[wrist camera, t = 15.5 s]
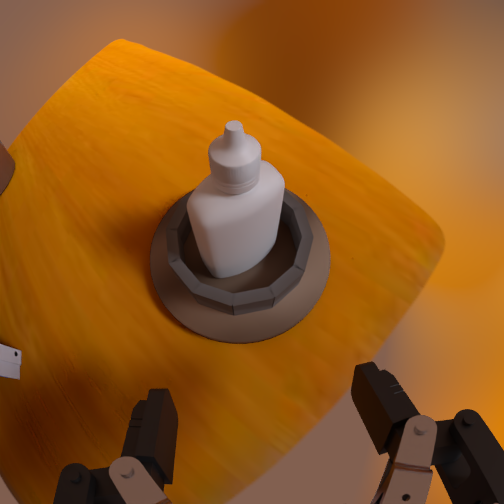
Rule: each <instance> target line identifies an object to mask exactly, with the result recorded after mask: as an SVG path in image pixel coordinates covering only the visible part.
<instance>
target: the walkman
mask: <svg viewBox="0 0 504 504" xmlns="http://www.w3.org/2000/svg"><path fill="white" fill-rule="evenodd" d="M20 365H21V351H20V350H17V349H14V348H11V347H8V346H5V345H2V344H0V376H2V377H7V378H8V377H9V378H14V379H20Z"/></svg>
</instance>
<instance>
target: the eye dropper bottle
mask: <svg viewBox="0 0 504 504" xmlns="http://www.w3.org/2000/svg"><path fill="white" fill-rule="evenodd" d="M208 154H209V162H210V169H211V174H210V175H209V176H208V177H206V178H205V179H204V180H203V181H202V182H201V183H200V184H199V185H198V187H197V188H196V189H195V190H194V192H193V193H192V194H191V196H190V197H189V199H188V202H187V211H188V215H189V219H190V223H191V226H192V229H193V233H194V236H195V239H196V242H197V246H198V249H199V252H200V255H201V258H202V261H203V262H204V264H205V266H206V267H207V269H208V270H209V272H210V273H211V274H212V275H213V276H214V277H215V278H226V277H231V276H234V275H238V274H240V273H243V272H245V271H247V270H249V269H250V268H252V267H254V266H255V265H256V264H258V263H259V262H260V261H261V260H262V259H263V258H264V257H265V256H266V255H267V254H268V253H269V252H270V250H271V249H272V248H273V246H274V244H275V241H276V236H277V231H278V225H279V219H280V214H281V208H282V201H283V195H284V187H285V182H284V179H283V177H282V176H281V174H280V173H279V172H278V171H277V170H276V169H275V168H274V167H273V166H272V165H271V164H270V163H268V162H266V161H263V160H261V146H260V144H259V142H258V141H257V140H256V139H255V138H254V137H252V136H250V135H248V134H245V133H244V131H243V127H242V124H241V123H240V122H239V121H230V122H228V123H227V124H226V126H225V131H224V134H223V135H221V136H219V137H217V138H216V139H215V140H214V141H213V142H212V143H211V144H210V146H209V150H208Z"/></svg>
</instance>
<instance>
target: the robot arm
mask: <svg viewBox="0 0 504 504" xmlns="http://www.w3.org/2000/svg"><path fill="white" fill-rule="evenodd" d="M14 168H15V162H14V160H13V158H12V157H11V155H10V154H9V153H8V151H7V150H6V148H5V147H4V145H3V144H2V142H1V141H0V194H1V193H2V192H3V191H4V189H5V188H6V186H7V185H8V183H9V181H10V179H11V177H12V175H13V172H14ZM351 395H352V399H353V402H354V404H355V406H356V408H357V410H358V412H359V414H360V416H361V419H362V420H363V423H364V425H365V427H366V429H367V431H368V433H369V435H370V437H371V439H372V441H373V443H374V445H375V448H376V450H377V452H378V454H379V455H380V454H383V453H386V452H388V454H389V459H388V462H387V465H386V468H385V471H384V473H383V476H382V479H381V481H380V484H379V487H378V489H377V491H376V494H375V496H374V498H373V500H372V501H371V504H425V502H426V499H427V495H428V491H429V488H430V484H431V479H432V474H433V471H432V470H430V466H431V465H435V468H436V470H437V472H438V474H439V476H440V478H441V480H442V482H443V484H444V486H445V488H446V490H447V492H448V495H449V497H450V499H451V501H452V504H504V450H503V449H502V447H501V446H500V444H499V443H498V441H497V440H496V438H495V437H494V435H493V434H492V432H491V431H490V430H489V428H488V426H487V425H486V424H485V422H484V421H483V419H482V418H481V416H480V415H479V414H478V413H477V412H475V411H473V410H470V409H465V410H461V411H459V412H458V413H457V414H456V416H455V417H454V419H451V420H444V421H434V420H433V419H431V418H430V417H428V416H425V415H420V413H419V412H418V411H417V409H416V408H415V406H414V405H413V403H412V402H411V400H410V399H409V397H408V396H407V394H406V393H405V392H404V391H403V388H402V387H401V385H399V383H398V381H397V380H396V378H395V377H394V375H392V374H391V373H389V372H388V371H386V370H382V371H379V369H378V368H377V366H376V364H375V363H374V362H372V361H371V362H367V363H363V364H359V365H356V366H355V370H354V376H353V382H352V387H351ZM177 429H178V415H177V411H176V408H175V406H174V403H173V400H172V398H171V395H170V392H169V390H168V389H150V390H149V394H148V398H147V400H140V401H139V402H138V403H137V405H136V406H135V407H134V408H133V411H132V415H131V420H130V422H129V428H128V430H127V434H126V438H125V442H124V446H123V450H122V454H121V457H120V458H118V459H116V460H115V461H114V462H113V463H112V464H111V465H110V467H106V468H100V469H93V470H88V469H87V468H86V467H85V466H84V465H82V464H78V463H73V464H69V465H67V466H66V467H65V468H64V469H63V470H62V472H61V474H60V478H59V482H58V486H57V490H56V494H55V498H54V502H53V504H172V502H171V501H170V500H169V499H168V497H167V496H166V495H165V494H164V493H163V491H164V484H172V482H173V470H174V458H175V448H176V438H177Z"/></svg>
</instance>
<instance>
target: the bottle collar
mask: <svg viewBox="0 0 504 504" xmlns="http://www.w3.org/2000/svg"><path fill="white" fill-rule="evenodd" d="M194 190H195V189H194ZM194 190H193V191H191V192H189V193H188V194H186V195H185V196H183V197H182V198H181V199H180V200H178V201H177V202H176V203H175V204H174V205H173V206H172V207H171V208H170V209H169V211H168V212H167V213H166V214H165V216H164V217H163V219H162V220H161V222H160V224H159V225H158V228H157V230H156V232H155V235H154V238H153V241H152V245H151V252H150V269H151V276H152V280H153V283H154V286H155V289H156V291H157V293H158V295H159V297H160V299H161V300H162V302H163V303H164V305H165V306H166V308H167V309H168V310H169V311H170V312H171V313H172V315H173V316H174V317H175V318H176V319H177V320H178V321H180V322H181V323H182V324H183V325H184V326H186V327H187V328H189V329H190V330H192V331H194V332H195V333H197V334H199V335H201V336H204V337H206V338H208V339H212V340H215V341H219V342H225V343H232V344H247V343H255V342H260V341H264V340H267V339H271V338H273V337H276V336H278V335H280V334H283V333H284V332H286V331H288V330H289V329H291V328H292V327H294V326H295V325H296V324H298V323H299V322H300V321H301V320H302V319H303V318H304V317H305V316H306V315H307V314H308V313H309V312H310V311H311V309H312V308H313V307H314V305H315V304H316V302H317V301H318V299H319V298H320V296H321V294H322V292H323V290H324V288H325V285H326V282H327V279H328V276H329V269H330V249H329V242H328V239H327V235H326V232H325V230H324V228H323V226H322V224H321V222H320V220H319V219H318V217H317V215H316V214H315V213H314V212H313V210H312V209H311V208H310V207H309V206H308V205H307V204H306V203H305V202H304V201H303V200H302V199H301V198H299V197H298V196H297V195H295V194H294V193H292V192H291V191H289V190H287V189H286V188H284V195H283V201H282V208H281V214H280V219H279V225H278V231H277V236H276V241H275V244H274V246H273V248H272V249H271V250H270V252H269V253H268V254H267V255H266V256H265V257H264V258H263V259H262V260H261V261H260V262H259V263H258V264H256V265H255V266H254V267H252V268H250V269H249V270H247V271H245V272H243V273H240V274H238V275H234V276H231V277H226V278H215V277H214V276H213V275H212V274H211V273H210V272H209V270H208V269H207V267H206V266H205V264H204V262H203V261H202V258H201V255H200V252H199V249H198V246H197V242H196V239H195V236H194V233H193V229H192V226H191V223H190V219H189V215H188V211H187V202H188V199H189V197H190V196H191V194H192V193H193V192H194Z"/></svg>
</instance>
